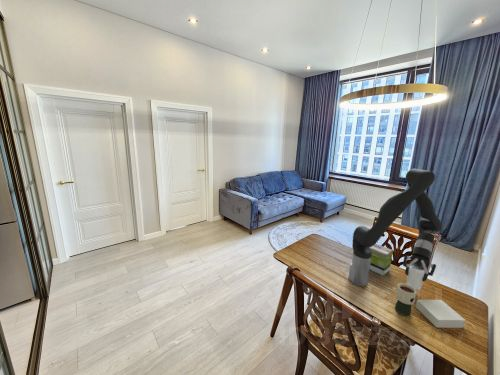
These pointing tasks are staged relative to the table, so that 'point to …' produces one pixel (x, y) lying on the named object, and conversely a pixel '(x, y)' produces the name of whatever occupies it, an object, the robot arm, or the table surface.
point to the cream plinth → (440, 314)
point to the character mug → (405, 299)
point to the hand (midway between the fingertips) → (415, 277)
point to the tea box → (380, 259)
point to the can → (415, 276)
